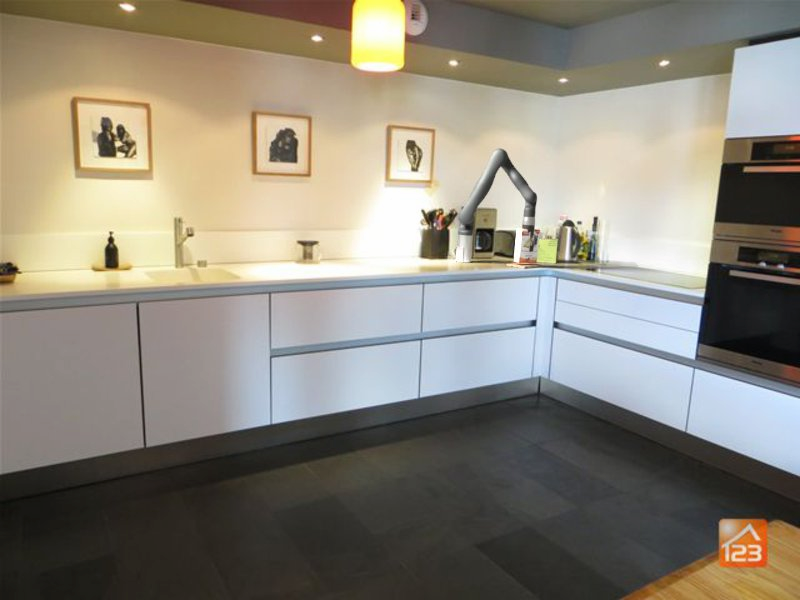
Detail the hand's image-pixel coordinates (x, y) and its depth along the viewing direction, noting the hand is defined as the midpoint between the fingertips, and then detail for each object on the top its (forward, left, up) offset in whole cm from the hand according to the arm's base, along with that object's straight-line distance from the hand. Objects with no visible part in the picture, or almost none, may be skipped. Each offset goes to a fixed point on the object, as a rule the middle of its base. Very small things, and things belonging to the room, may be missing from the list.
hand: (526, 251), depth 360 cm
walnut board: (0, 0, -10) cm, 10 cm away
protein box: (+36, +11, -10) cm, 39 cm away
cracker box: (0, 0, -8) cm, 8 cm away
